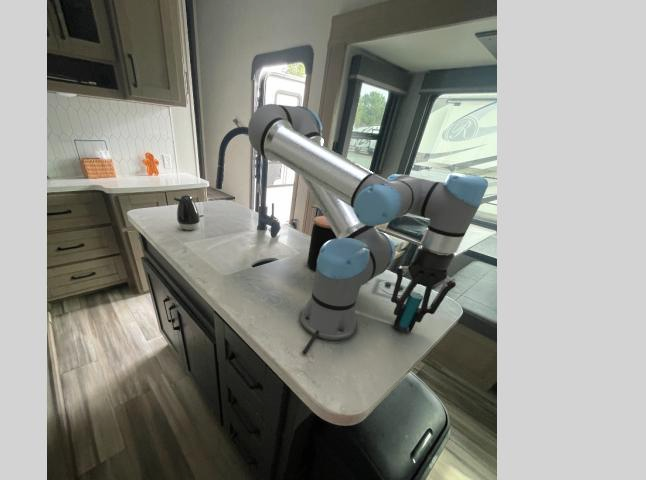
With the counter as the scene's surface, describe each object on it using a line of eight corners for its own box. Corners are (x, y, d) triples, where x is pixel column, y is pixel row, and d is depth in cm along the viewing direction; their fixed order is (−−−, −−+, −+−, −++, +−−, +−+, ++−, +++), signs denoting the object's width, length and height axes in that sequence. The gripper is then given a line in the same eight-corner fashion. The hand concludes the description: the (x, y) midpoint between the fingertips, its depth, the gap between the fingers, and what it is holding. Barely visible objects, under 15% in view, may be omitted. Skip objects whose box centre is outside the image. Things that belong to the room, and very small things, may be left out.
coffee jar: (333, 261, 108) (342, 217, 98) (335, 274, 100) (346, 227, 89) (306, 258, 109) (313, 214, 99) (307, 271, 100) (314, 224, 90)
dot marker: (407, 333, 73) (422, 300, 67) (395, 329, 74) (409, 296, 68) (408, 326, 75) (423, 294, 69) (396, 322, 77) (410, 290, 70)
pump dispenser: (176, 225, 130) (171, 192, 121) (197, 223, 134) (194, 191, 125) (179, 233, 123) (175, 198, 114) (202, 230, 127) (199, 197, 118)
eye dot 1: (390, 287, 91) (391, 285, 91) (384, 285, 92) (385, 284, 92) (391, 284, 93) (391, 283, 93) (385, 283, 94) (385, 281, 93)
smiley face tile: (407, 303, 87) (408, 300, 86) (373, 292, 91) (374, 290, 90) (410, 289, 95) (411, 286, 94) (378, 280, 98) (379, 277, 98)
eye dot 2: (402, 290, 90) (403, 289, 90) (396, 289, 91) (397, 287, 90) (403, 288, 91) (404, 286, 91) (397, 286, 92) (397, 285, 92)
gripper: (476, 252, 61) (434, 329, 75) (401, 235, 67) (375, 310, 80) (479, 264, 56) (434, 345, 69) (398, 245, 61) (370, 324, 75)
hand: (402, 326), depth 75 cm, fingers closed on dot marker, 3 cm apart
